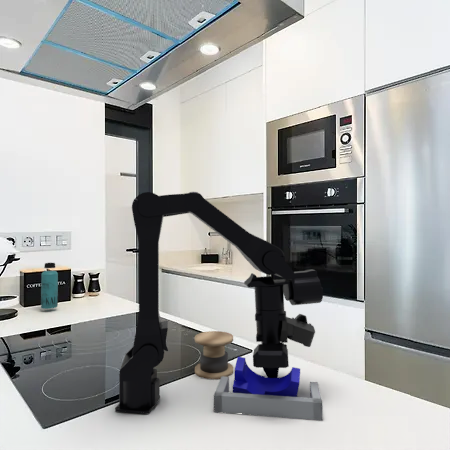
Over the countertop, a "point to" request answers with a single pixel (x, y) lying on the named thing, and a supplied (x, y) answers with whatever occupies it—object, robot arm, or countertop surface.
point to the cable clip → (264, 382)
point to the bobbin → (214, 355)
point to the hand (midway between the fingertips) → (273, 384)
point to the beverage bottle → (49, 288)
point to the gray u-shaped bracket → (268, 403)
